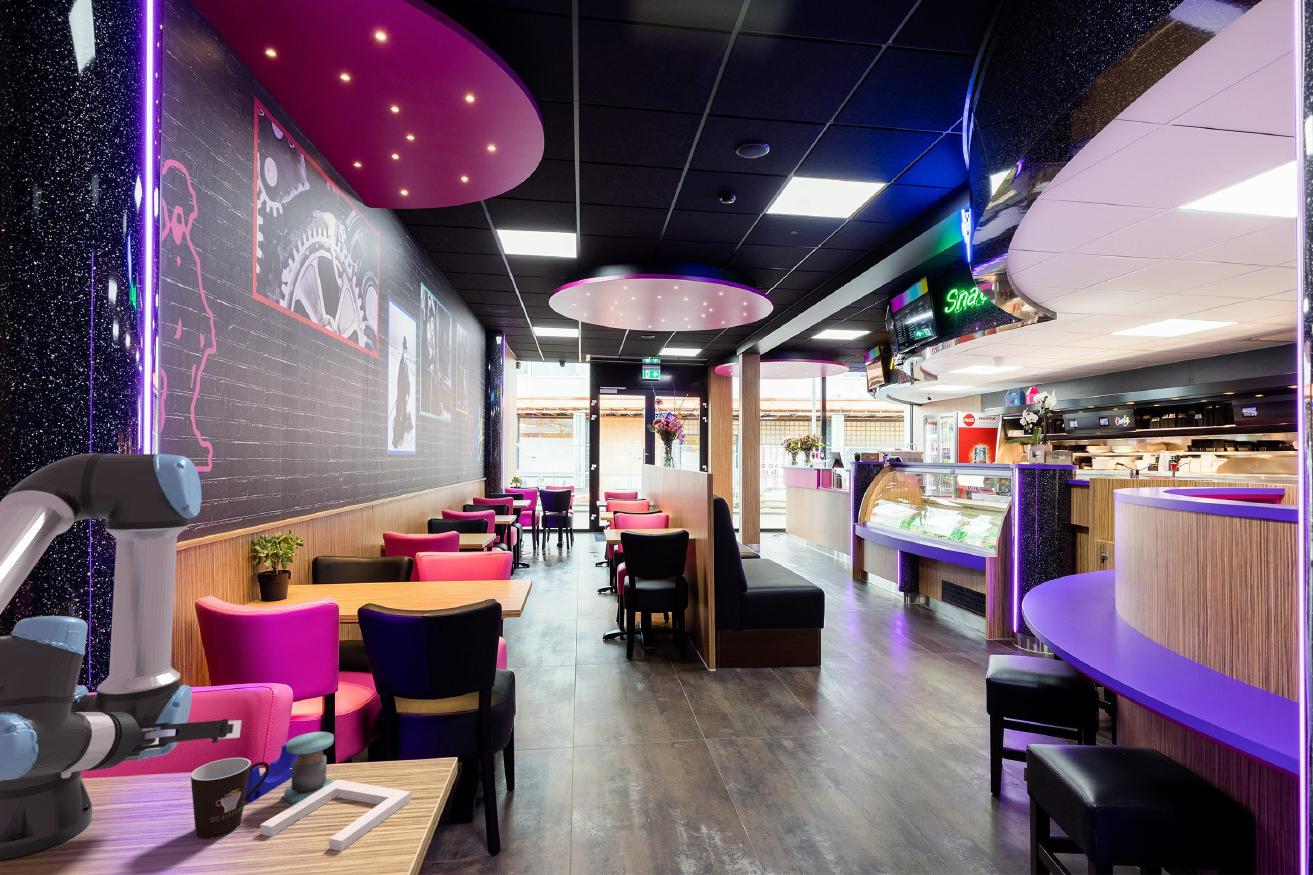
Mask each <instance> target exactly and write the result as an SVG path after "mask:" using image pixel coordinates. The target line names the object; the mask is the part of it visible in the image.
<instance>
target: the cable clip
mask: <svg viewBox="0 0 1313 875" xmlns="http://www.w3.org/2000/svg"><path fill="white" fill-rule="evenodd" d="M286 745H287V743H285V744H283V745H282V746H281V752H280V755H279V758H277V759H276V760H273V761H272V762H270V763H269V764H268V765H269V773H268V775H267V777H266V779H265V780H264V782H263V783H262V784H261V786H260V787H259V788H258V789H257V790H256V791H255V792H254V793H253V794H252V795H251V796H250V797H249V798H248V799H247V800H246V801H245V802H244V803H251V804H252V803H253V802H255V801H256V800H258V799H260V798H261V797H263V796H264V795H266V794H268V793H269V792H271V791H273V790H274V789H276V788H278V787H279V786H281V785H283V784H284V783H286V782H288V781H290V780H292V769H290V768H292V763H293V761H295V760H296V759H297V754H291V753H288V752H287V751H286ZM251 766H252V765H251ZM251 766H250V767H251ZM260 772H261V771H260V766H257V767H255V768H254V769H253V770H252V771H251V772H250V773H249V777H248V783H247V789H246V795H247V794H248V793H249V792H250V791H251V790H252V789H253V788H254V787H255V786H256V785H257V784H258V783H259V782H260V781H261V779H262V778H263V776H264V774H265V771H263V773H262V774H261V773H260ZM246 795H245V796H246Z"/></svg>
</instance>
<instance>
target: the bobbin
mask: <svg viewBox="0 0 1313 875" xmlns="http://www.w3.org/2000/svg"><path fill="white" fill-rule="evenodd" d="M334 736H335V735H334V734H333V733H331V732H328V731H315V732H313V731H312V732H309V733H303V734H299V735H297V736H295V737H293V738H292V737H291V739H289V740H288V741H287V742H286V744H287V745H286V751H287V752H288V753H291V754H297V759H296V760H295V761H293V763H292V778H291V785H289V786H288V787H286V788H285V790H284V798H283V800H284V802H285V803H286V804H290V805H295V804H296V803H298V802H300V801H302V800H303V799H305V798H307V797H308V796H310V795H312V794H314V793H315V792H317V791H319V790H320V789H322V788H324V787H326V786H327V785H329V784H331V783H332V782H333V781H332V780H331V779H330V778H327V762H328V761H327V757H328V756H327V755H325V754H324V752H323V751H324V750H326V749H328V748H330V747H331V746H332V745H334V741H335V737H334Z"/></svg>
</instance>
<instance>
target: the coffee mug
mask: <svg viewBox="0 0 1313 875" xmlns="http://www.w3.org/2000/svg"><path fill="white" fill-rule="evenodd" d="M251 764H252V761H251V760H250V759H248V758H245V757H230V758H224V759H219V760H215V761H210V762H208V763H206V764H203V765H200V766H199V767H197V768H195V769H194V770H193V771H192V772H191V773H190V783H191V794H192V804H193V805H192V806H193V817H194V818H193V819H194V829H195V836H196V838H199V839H201V840H203V839H204V840H211V839H215V838H220V837H224V836H226V835H228V834H230V833H232V832H234V831H235V829H236V828H237V827H238V826H239V827H240V826H241V824H242V818H243V811H244V805H245V803H246V802H245V801H246V800H247V799H248V798H249V797H250V796H251V795H252V794H253V793H254V792H255V791H256V790H257V789H258V788H259V787H260V786H261V784H262V783H263V782H264V780H265V779H266V777H267V775H268V773H269V765H270V764H268V763H267V762H265V761H259V762H258V761H257V762H255V763H253V764H252V765H251ZM250 766H251V767H250ZM260 766H263V767H264V770H265V771H264V772H265V774H264V776H263V778H262V779H261V781H260V782H259V783H258V784H257V785H256V786H255V787H254V788H253V789H252V790H251V791H250V792H249V793H248V794H247V795H246V789H247V783H248V777H249V773H250V772H251V771H252V770H253V769H254V768H255V767H260ZM245 795H246V796H245ZM239 827H238V828H239ZM238 828H237V829H238ZM237 829H236V830H237ZM233 830H234V831H233Z"/></svg>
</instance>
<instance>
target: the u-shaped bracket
mask: <svg viewBox="0 0 1313 875" xmlns="http://www.w3.org/2000/svg"><path fill="white" fill-rule="evenodd" d="M335 798H339V799H343V800H351V801H355V802H362V803H366V804H367V803H368V804H372V805H373V804H374V805H376V806H374V807H372V808H371V809H370V810H369V811H367V812H366V813H364V814H363V815H361V816H359V817H358V818H357V819H355V820H354V821H353V822H351V823H349V824H348V825H347V826H345V827H344V828H342V829H341V830H340V831H338V832H336V834H333V835H332V836H331V837H330V838H329V841H328V842H329V844H328V849H329V850H333V851H338V852H343V851H344V850H345V849H347V848H348V847H349V846H351V845H353V843H355V842H356V841H358V840H359V839H361V838H362V837H363V836H364V835H366V834H368V833H369V832H370V831H372V829H375V827H376V826H378V825H379V824H381V823H382V822H383V821H385V820H386V819H388V818H389V817H391V816H392V815H394V813H397V811H399V810H400V809H401V808H403V807H404V806H405V805H407V804H408V803H410V802H411V800H412V799H411V798H412V791H409V790H402V789H397V788H391V787H385V786H378V785H374V784H373V785H372V784H366V783H363V782H362V783H361V782H354V781H348V780H343V779H336V780H334V781H332V783H331V784H329V785H327V786H326V787H324V788H322V789H320V790H319V791H317V792H315V793H314V794H312V795H310V796H308V797H307V798H305V799H303V800H302V801H300V802H298V803H296V804H292V805H291V806H290V807H288V808H286V809H284V810H283V811H281V812H280V813H278V814H276V815H274V816H273V817H271V818H269V819H267V820H266V821H264V822H262V823H261V824H260V829H259V830H260V831H259V835H261V834H262V836H266V837H273V836H275V835H276V834H278V833H280V832H281V830H282V831H283V830H285V829H287V828H288V827H289V825H290V824H291V825H293V824H294V822H295V821H296V822H298V821H299V820H301V819H303V818H304V817H306V816H308V815H309V814H311V813H312V812H314V811H315V810H317V809H319V808H320V807H323V806H324V805H325V804H327V803H329V802H330V801H331V800H334V799H335ZM409 801H410V802H409ZM310 812H311V813H310ZM308 813H309V814H308ZM307 814H308V815H307ZM305 815H306V816H305ZM302 817H303V818H302ZM300 818H301V819H300ZM298 819H299V820H298ZM297 820H298V821H297ZM296 822H295V823H296ZM292 823H293V824H292ZM291 825H290V826H291ZM287 826H288V827H287ZM284 828H285V829H284Z"/></svg>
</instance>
